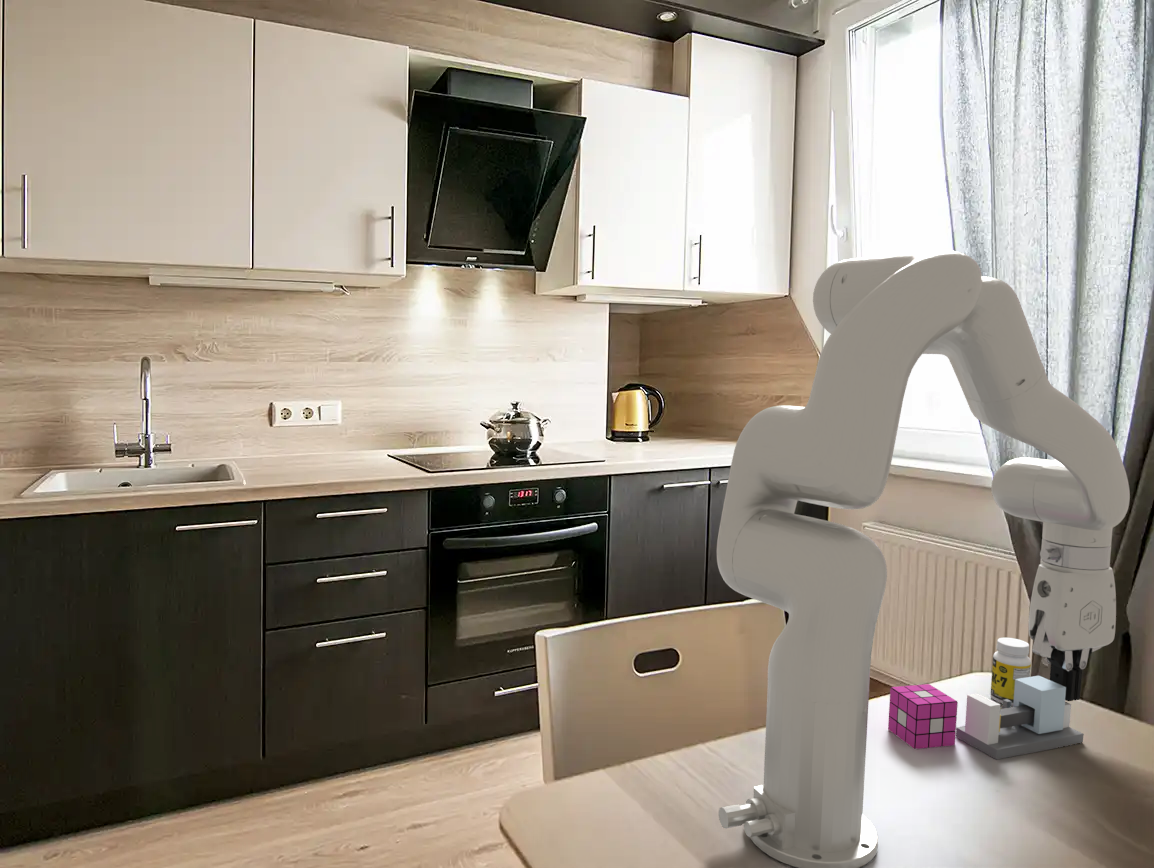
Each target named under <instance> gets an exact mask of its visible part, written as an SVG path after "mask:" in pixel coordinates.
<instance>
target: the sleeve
mask: <svg viewBox="0 0 1154 868" xmlns="http://www.w3.org/2000/svg"><path fill="white" fill-rule="evenodd" d="M1065 695H1066V687H1064V686H1062V685H1060V684H1057V683H1055V682H1053V681H1050V679H1048V678H1045V677H1043V676H1041V675H1034V676H1030V677H1026V678H1019V679H1015V688H1014V702H1013V706H1012V707H1016V706H1022V705H1028V706H1030V707H1032V708H1034V709H1035V714H1034V723H1028V724H1023V725H1022V726H1024V727H1026V728H1028V729H1030V730H1032V731H1034V732H1036V733H1038V734H1042V733H1047V732H1053V731H1058V730H1063V721H1064V708H1065V702H1066V700H1065Z"/></svg>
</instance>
